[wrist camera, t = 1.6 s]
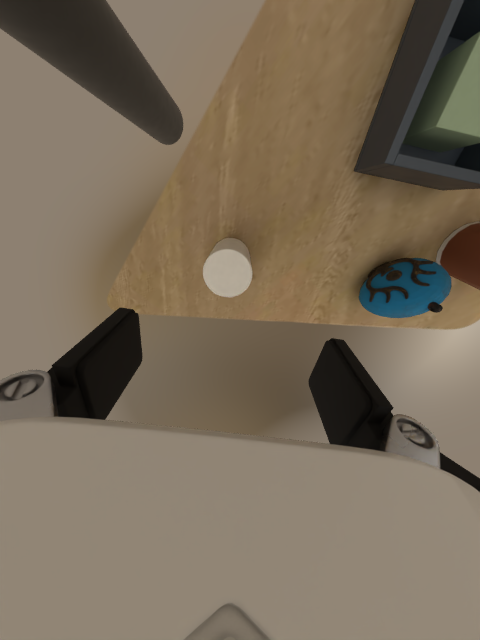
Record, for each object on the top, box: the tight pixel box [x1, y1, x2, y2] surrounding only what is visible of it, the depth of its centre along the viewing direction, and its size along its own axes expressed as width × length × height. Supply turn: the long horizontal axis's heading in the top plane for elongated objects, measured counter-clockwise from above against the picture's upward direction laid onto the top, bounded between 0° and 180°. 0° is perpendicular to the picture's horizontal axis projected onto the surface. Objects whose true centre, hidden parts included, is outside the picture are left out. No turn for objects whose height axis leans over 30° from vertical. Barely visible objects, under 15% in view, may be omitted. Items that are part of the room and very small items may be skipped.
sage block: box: [402, 32, 480, 152], centre depth 17 cm, size 5×5×5 cm
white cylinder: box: [203, 238, 252, 297], centre depth 24 cm, size 5×5×7 cm
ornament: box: [359, 258, 451, 318], centre depth 24 cm, size 8×5×10 cm, turn 131°
